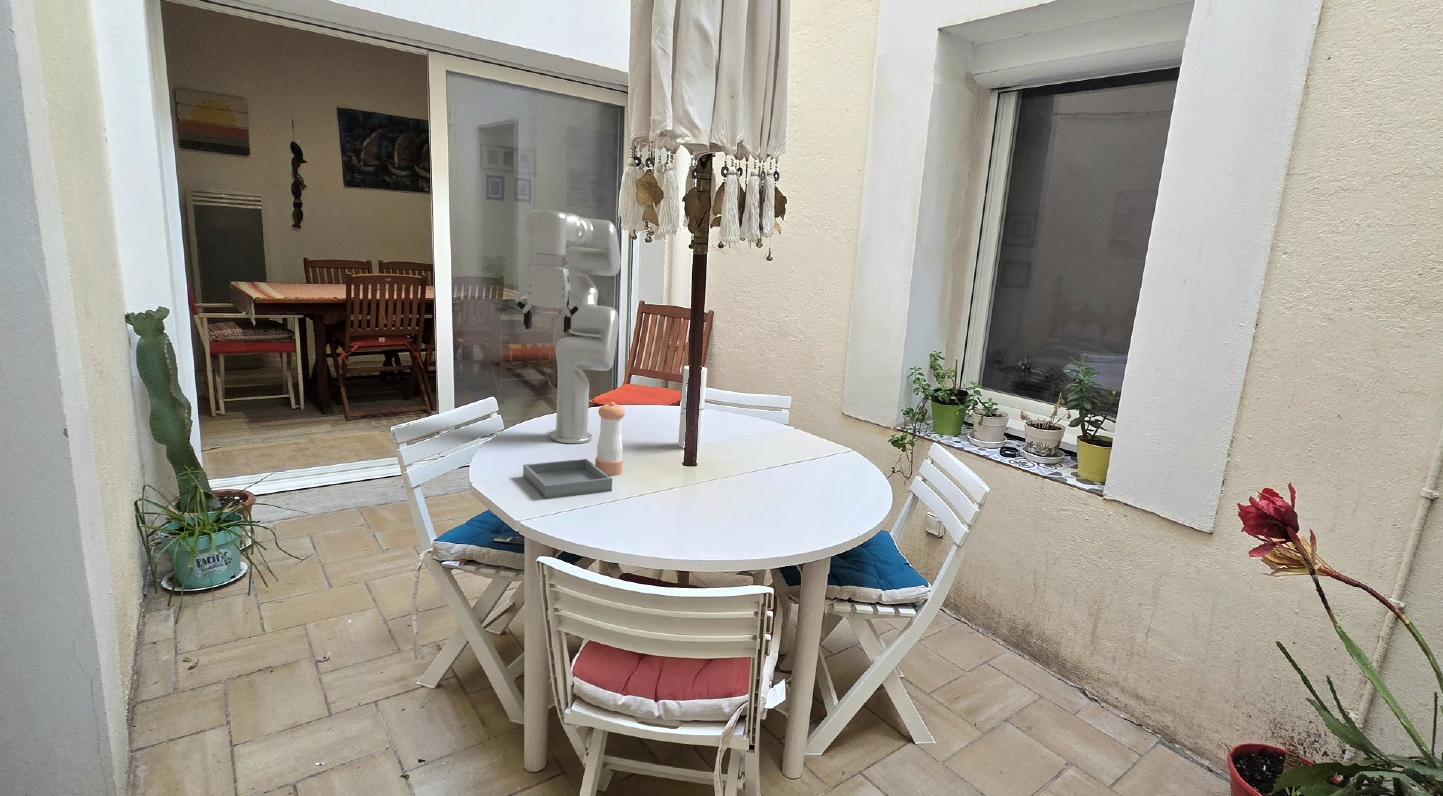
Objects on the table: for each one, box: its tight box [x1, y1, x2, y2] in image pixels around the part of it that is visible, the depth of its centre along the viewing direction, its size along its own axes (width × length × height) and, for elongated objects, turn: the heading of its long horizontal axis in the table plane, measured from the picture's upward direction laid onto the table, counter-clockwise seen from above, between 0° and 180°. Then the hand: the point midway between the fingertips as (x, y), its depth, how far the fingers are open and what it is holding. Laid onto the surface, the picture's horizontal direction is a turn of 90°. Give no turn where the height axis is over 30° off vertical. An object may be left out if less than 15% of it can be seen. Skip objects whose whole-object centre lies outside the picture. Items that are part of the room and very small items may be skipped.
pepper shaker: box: [594, 401, 626, 476], centre depth 187 cm, size 7×7×19 cm
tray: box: [522, 458, 613, 500], centre depth 176 cm, size 17×17×3 cm
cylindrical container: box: [677, 365, 708, 449], centre depth 217 cm, size 7×7×25 cm
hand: (547, 330), depth 177 cm, fingers open, 9 cm apart
